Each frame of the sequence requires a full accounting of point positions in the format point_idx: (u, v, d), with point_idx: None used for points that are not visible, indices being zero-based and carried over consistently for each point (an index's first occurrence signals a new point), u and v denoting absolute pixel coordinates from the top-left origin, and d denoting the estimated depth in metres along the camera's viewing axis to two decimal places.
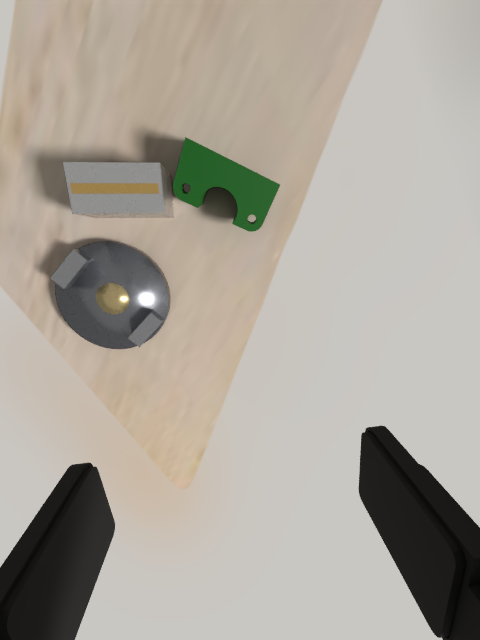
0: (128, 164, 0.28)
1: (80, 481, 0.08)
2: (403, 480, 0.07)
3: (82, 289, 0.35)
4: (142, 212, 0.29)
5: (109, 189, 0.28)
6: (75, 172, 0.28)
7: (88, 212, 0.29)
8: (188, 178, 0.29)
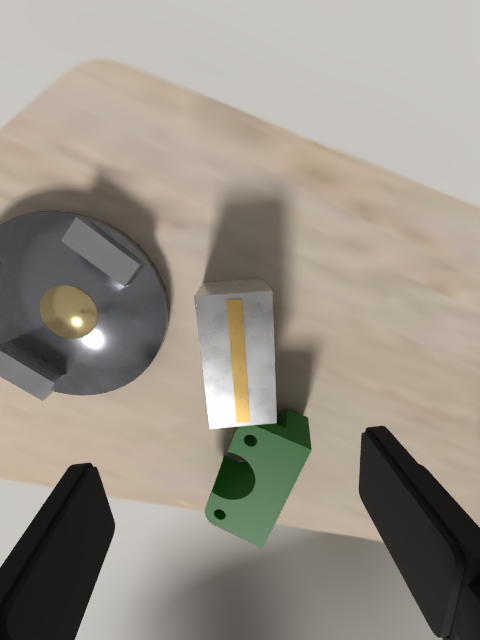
0: (272, 383, 0.18)
1: (80, 481, 0.08)
2: (403, 480, 0.07)
3: (74, 262, 0.20)
4: (207, 399, 0.19)
5: (237, 357, 0.18)
6: (258, 308, 0.17)
7: (198, 322, 0.17)
8: (263, 445, 0.21)
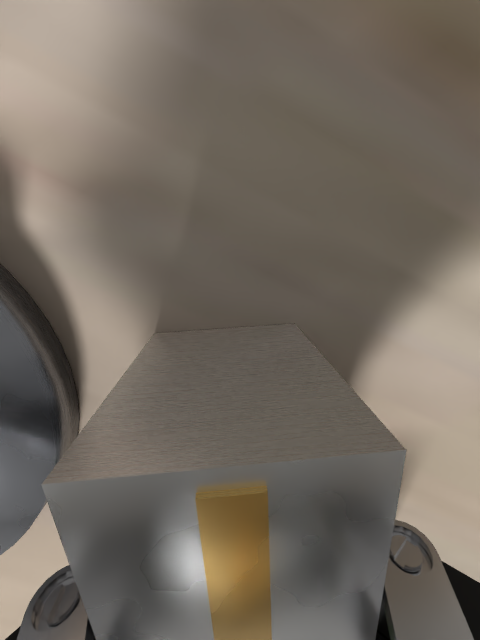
0: None
1: None
2: None
3: None
4: None
5: None
6: (335, 515, 0.04)
7: (79, 573, 0.04)
8: None
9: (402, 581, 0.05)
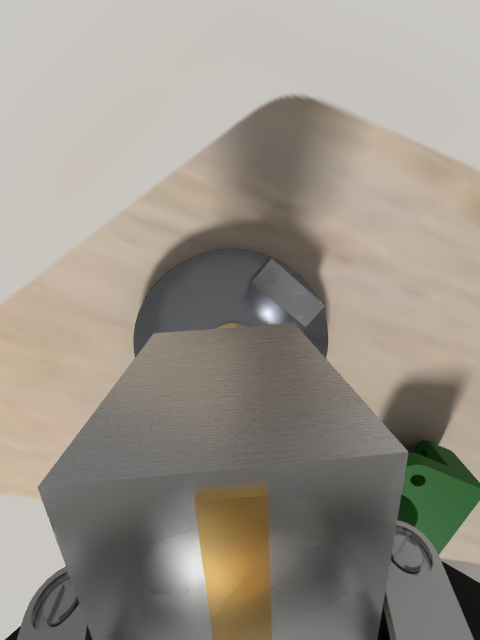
0: None
1: None
2: None
3: (246, 300, 0.19)
4: None
5: None
6: (336, 517, 0.04)
7: (76, 576, 0.04)
8: (431, 485, 0.21)
9: (402, 581, 0.05)
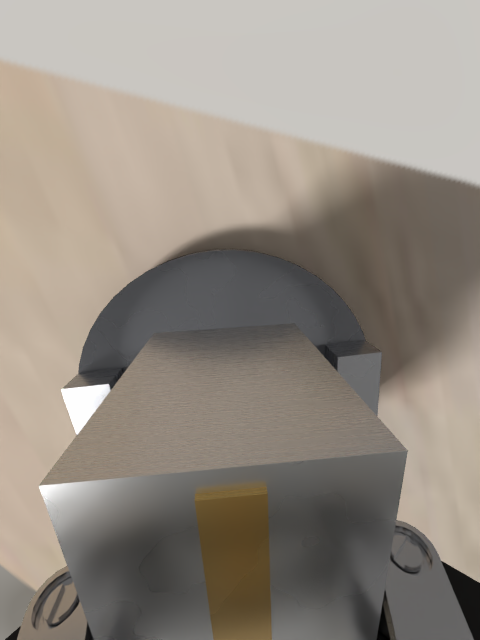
0: None
1: None
2: None
3: None
4: None
5: None
6: (335, 516, 0.04)
7: (77, 574, 0.04)
8: None
9: (402, 581, 0.05)
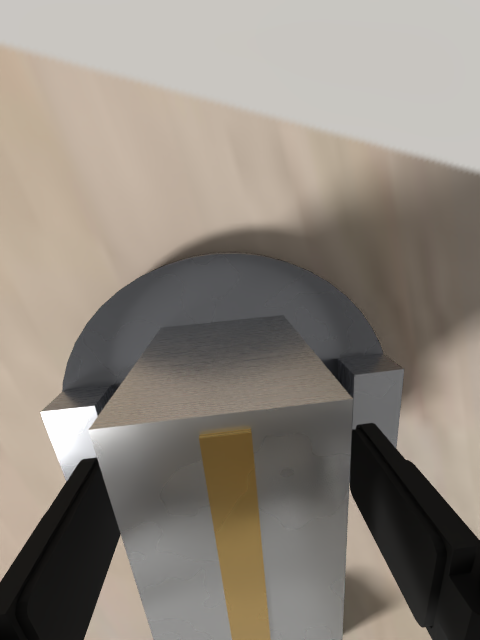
0: (336, 615, 0.07)
1: (91, 474, 0.08)
2: (390, 475, 0.07)
3: None
4: None
5: (239, 576, 0.06)
6: (304, 451, 0.05)
7: (115, 500, 0.05)
8: None
9: None
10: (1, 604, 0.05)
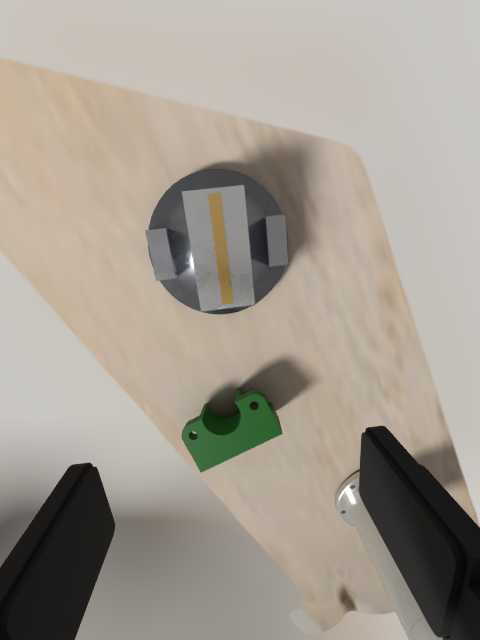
0: (249, 268, 0.23)
1: (80, 481, 0.08)
2: (403, 480, 0.07)
3: (251, 227, 0.28)
4: (197, 284, 0.23)
5: (219, 244, 0.22)
6: (233, 201, 0.21)
7: (186, 214, 0.21)
8: (258, 413, 0.31)
9: None
10: None
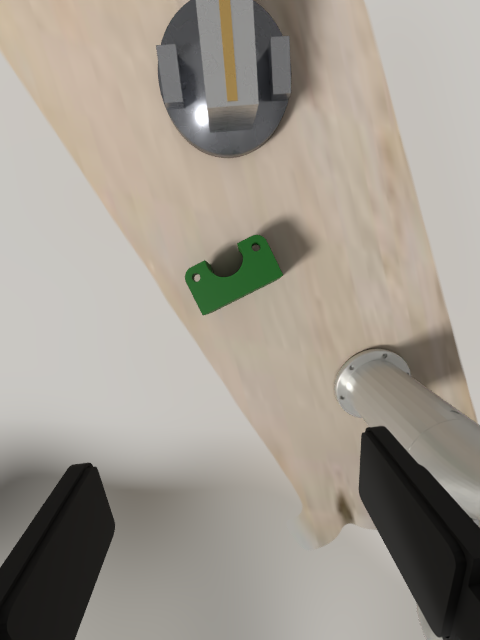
0: (254, 60, 0.24)
1: (80, 481, 0.08)
2: (403, 480, 0.07)
3: (256, 57, 0.29)
4: (204, 77, 0.24)
5: (225, 30, 0.23)
6: None
7: None
8: (260, 254, 0.32)
9: None
10: None
